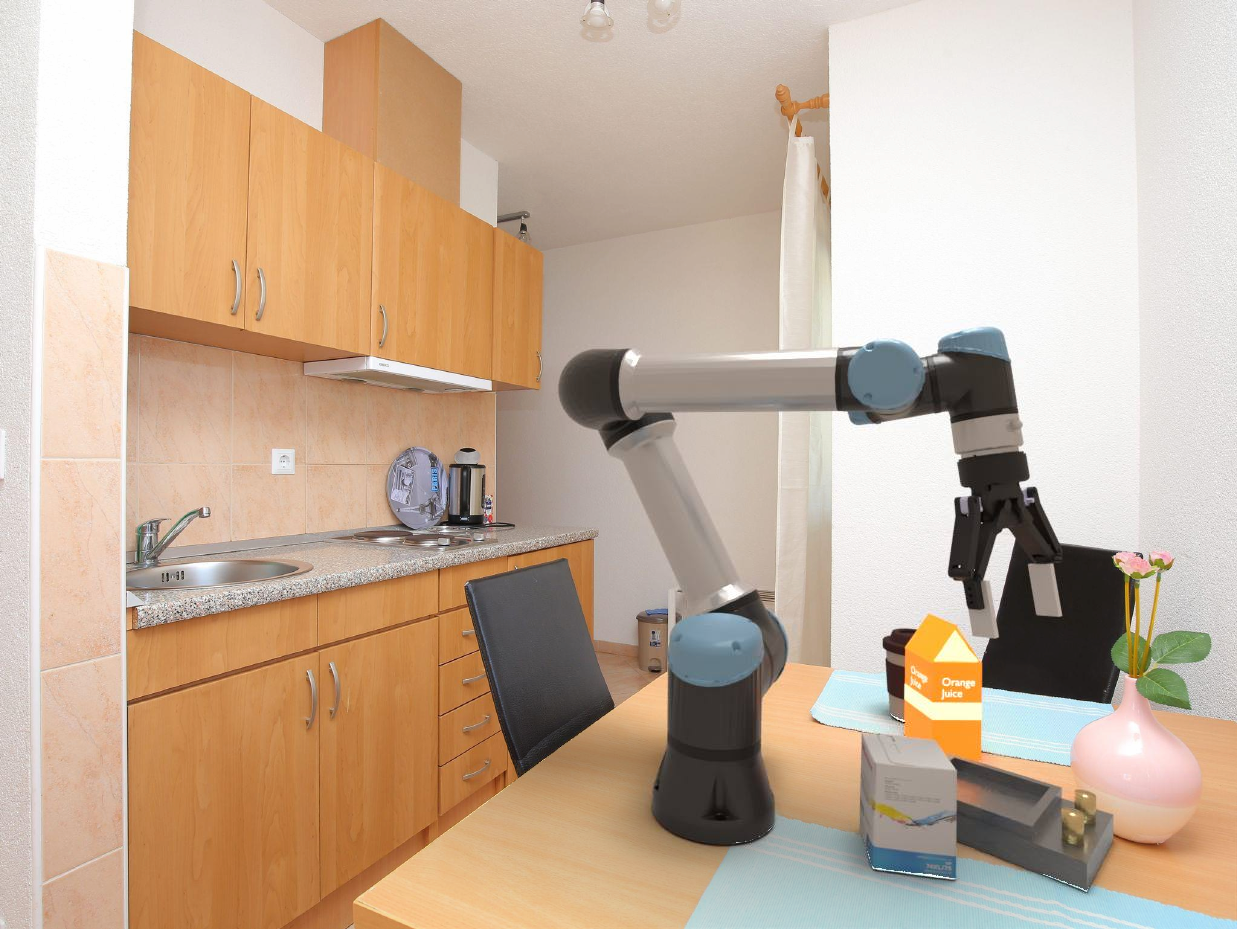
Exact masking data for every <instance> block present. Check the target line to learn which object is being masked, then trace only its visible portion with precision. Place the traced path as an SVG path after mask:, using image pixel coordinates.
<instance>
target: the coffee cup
mask: <svg viewBox="0 0 1237 929" xmlns="http://www.w3.org/2000/svg"><path fill="white" fill-rule="evenodd" d="M917 629H918V628H917ZM917 629H916V628H906V627H905V628H901V627H900V628H894V629H893V630H892V631H891V633H890V635H885V636H883V637H882V648H883V649H884V650H885V655H886V658H885V659H884V660H885V677H886V690H887V693H888V700H889V701H888V704H889V714H890V713H891V714H892V715H893V716H895V717H898V718H899V719H903V720H905V699H904V697H905V647H906V645H907V644H908V642H909V641H910V639H911V638H912V636H913V635H914V634H915V632H916V631H917ZM891 714H890V715H891Z"/></svg>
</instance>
